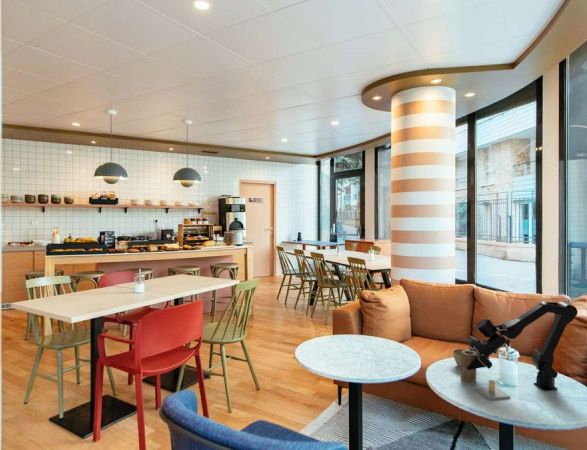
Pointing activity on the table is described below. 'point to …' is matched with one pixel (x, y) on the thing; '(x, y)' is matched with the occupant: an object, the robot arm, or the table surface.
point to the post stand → (491, 391)
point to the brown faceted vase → (467, 359)
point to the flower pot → (458, 356)
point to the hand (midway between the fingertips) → (465, 366)
